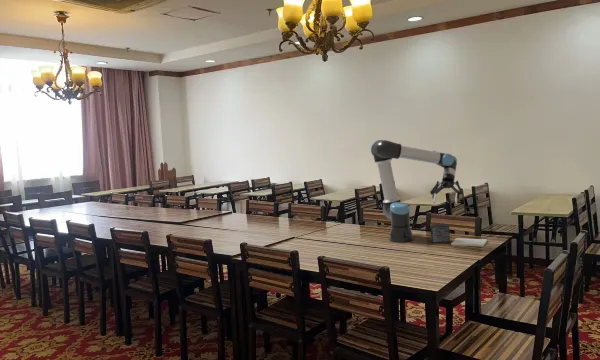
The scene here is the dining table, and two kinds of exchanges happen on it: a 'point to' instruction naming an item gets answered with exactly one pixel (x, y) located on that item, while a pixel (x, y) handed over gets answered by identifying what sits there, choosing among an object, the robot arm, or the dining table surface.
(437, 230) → the small box
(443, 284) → the dining table surface
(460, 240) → the mat
